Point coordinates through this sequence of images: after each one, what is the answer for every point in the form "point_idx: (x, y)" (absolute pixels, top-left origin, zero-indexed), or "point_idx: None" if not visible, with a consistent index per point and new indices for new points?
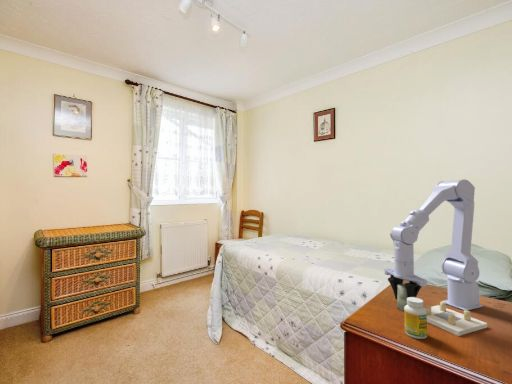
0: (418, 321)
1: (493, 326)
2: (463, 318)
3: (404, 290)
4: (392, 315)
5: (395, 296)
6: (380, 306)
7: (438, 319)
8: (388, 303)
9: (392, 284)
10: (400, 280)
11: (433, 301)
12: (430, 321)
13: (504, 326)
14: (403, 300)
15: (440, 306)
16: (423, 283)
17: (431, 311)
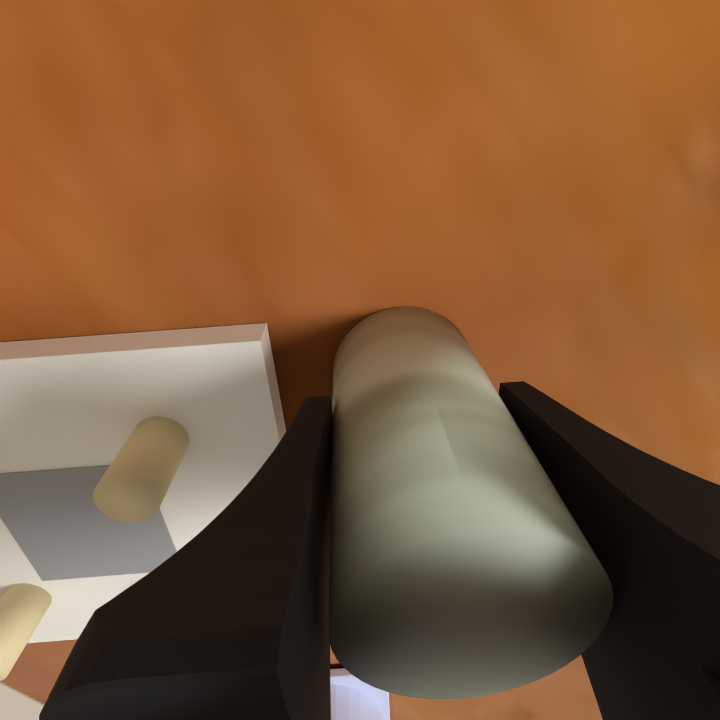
0: None
1: None
2: (54, 592)
3: (371, 506)
4: (314, 79)
5: (531, 394)
6: (585, 158)
7: (30, 426)
8: (583, 326)
9: (686, 503)
10: (638, 715)
11: None
12: (41, 347)
13: (16, 682)
14: (373, 381)
15: None
16: None
17: (211, 500)
